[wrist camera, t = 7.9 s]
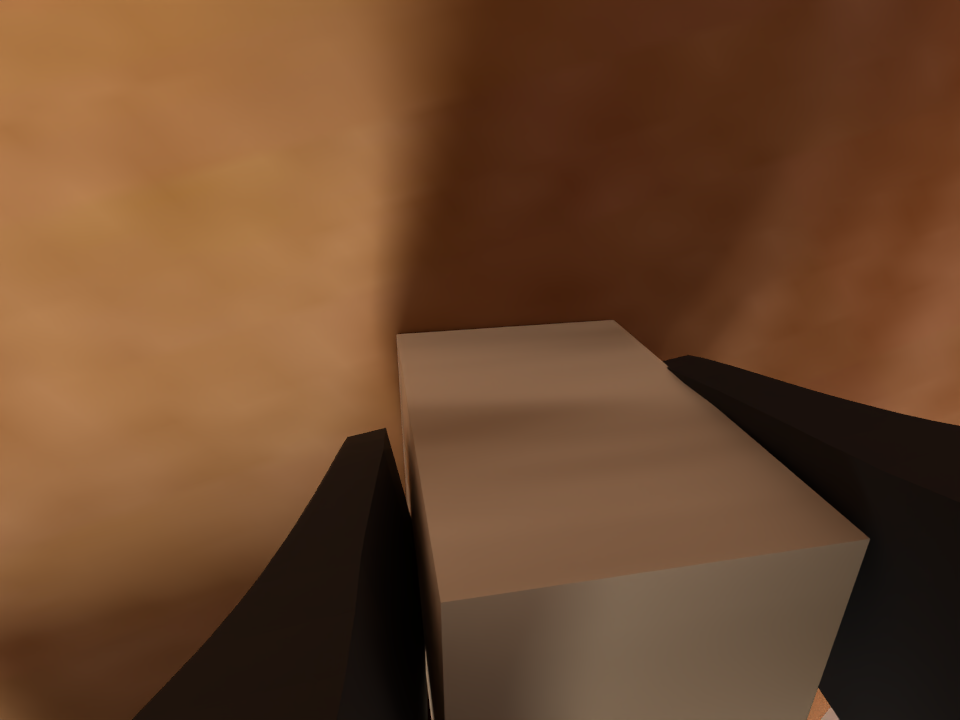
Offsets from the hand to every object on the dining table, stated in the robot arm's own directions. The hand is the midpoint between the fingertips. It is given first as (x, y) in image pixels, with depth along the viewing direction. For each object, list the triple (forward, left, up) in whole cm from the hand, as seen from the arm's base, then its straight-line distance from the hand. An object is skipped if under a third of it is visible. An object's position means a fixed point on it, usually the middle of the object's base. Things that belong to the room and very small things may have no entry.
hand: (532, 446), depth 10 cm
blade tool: (-5, +1, -2) cm, 6 cm away
